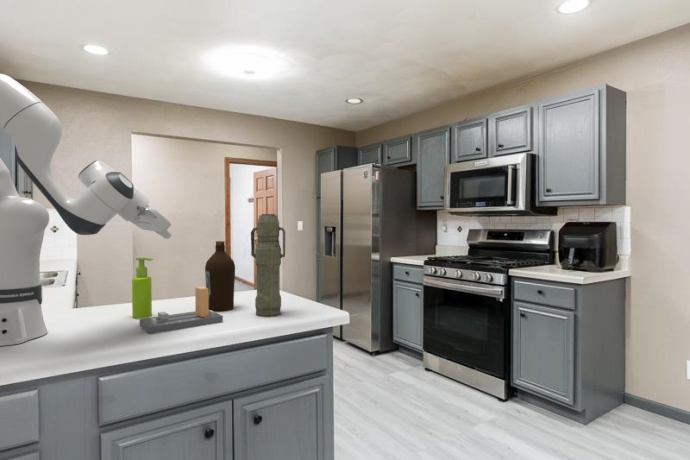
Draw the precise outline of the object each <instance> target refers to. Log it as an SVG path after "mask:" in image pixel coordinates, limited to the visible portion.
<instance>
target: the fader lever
mask: <svg viewBox="0 0 690 460" xmlns="http://www.w3.org/2000/svg"><path fill="white" fill-rule="evenodd" d="M194 289H195V290H194V291H195V296H194V297H195V298H194V299H195V302H194V303H195V311H196V315H198V316H200V317H205V316H209V297H208V288H206V286H195V288H194Z"/></svg>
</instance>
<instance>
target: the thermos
mask: <svg viewBox="0 0 690 460" xmlns="http://www.w3.org/2000/svg"><path fill="white" fill-rule="evenodd" d="M258 216H259V217H258V219H257V223H256V225H257V226H256V227H253V228H252V230H251V231H250V244H251V245H250V246H251V248H250V249H251V251H250V252H251V253H250V255H251V257H253V258H254V259H255V266H256V296H255V300H254V301H255V303H254V304H255V306H254V307H255V316H257V317H260V316H261V317H262V318H270V317H271V316H273V317H277V315H278V316H280V315H281V314H282V313H281V312H282V311H281V307H282V297H281V293H280V291H281V289H280V286H281V285H280V283H281V281H280V279H281V278H280V277H281V276H280V271H281V269H280V266H281V264H282V258H285V256H286V230H285V229H284V227H281V226H280V221H279V218H278V215H276V213H275V214H274V213H273V214H272V213H261V214H259V215H258ZM256 231H257V233H256ZM280 231H282V248H281V245H280V238H279V237H280ZM255 233H256V235H257V243H256V247H255Z"/></svg>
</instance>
